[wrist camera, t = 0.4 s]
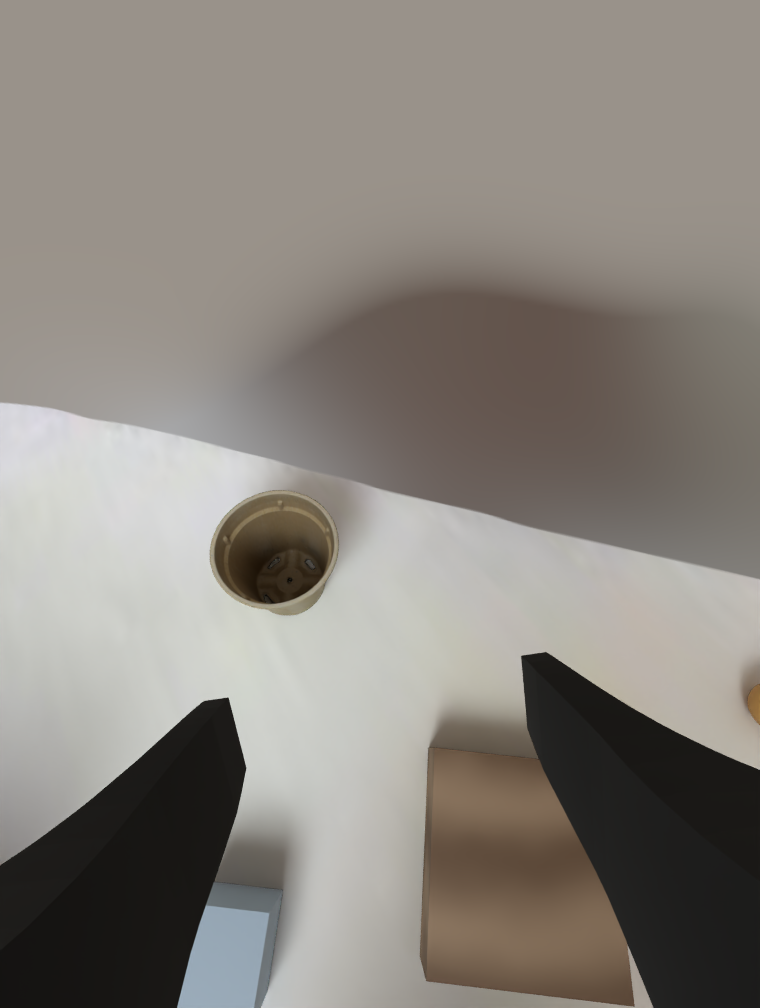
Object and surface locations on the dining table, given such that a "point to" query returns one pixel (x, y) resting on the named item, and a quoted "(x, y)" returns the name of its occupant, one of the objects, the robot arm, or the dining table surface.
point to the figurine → (755, 703)
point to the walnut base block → (513, 886)
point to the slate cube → (232, 948)
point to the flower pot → (275, 551)
